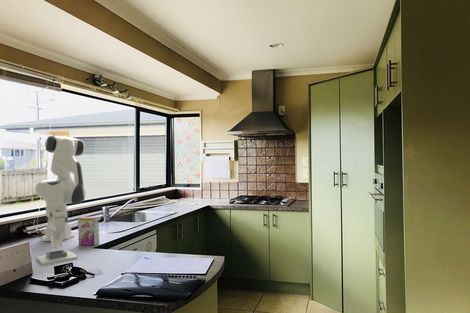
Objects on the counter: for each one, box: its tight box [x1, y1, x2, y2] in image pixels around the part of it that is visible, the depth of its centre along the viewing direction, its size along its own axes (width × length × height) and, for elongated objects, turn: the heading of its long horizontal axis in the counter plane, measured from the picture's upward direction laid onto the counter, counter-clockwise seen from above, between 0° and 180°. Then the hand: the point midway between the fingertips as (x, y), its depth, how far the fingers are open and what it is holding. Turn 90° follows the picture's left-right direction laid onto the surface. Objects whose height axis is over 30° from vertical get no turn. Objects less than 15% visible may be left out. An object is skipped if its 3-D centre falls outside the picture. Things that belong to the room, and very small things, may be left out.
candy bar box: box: [77, 216, 100, 246], centre depth 212 cm, size 11×5×16 cm, turn 74°
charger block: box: [50, 231, 63, 249], centre depth 182 cm, size 4×5×8 cm
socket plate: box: [35, 249, 78, 266], centre depth 182 cm, size 16×16×3 cm
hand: (56, 239), depth 182 cm, fingers closed on charger block, 4 cm apart
